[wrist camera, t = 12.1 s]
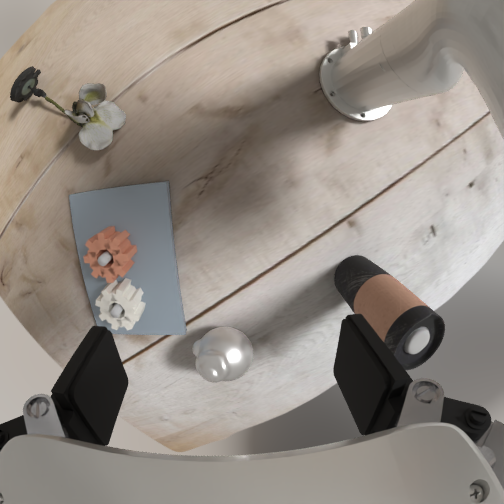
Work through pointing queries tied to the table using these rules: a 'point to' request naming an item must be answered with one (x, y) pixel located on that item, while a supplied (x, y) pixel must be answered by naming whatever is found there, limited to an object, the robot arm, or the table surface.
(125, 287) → the cream gear
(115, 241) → the terracotta gear
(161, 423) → the table surface
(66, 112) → the artificial flower
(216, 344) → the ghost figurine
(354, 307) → the travel mug
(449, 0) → the robot arm
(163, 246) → the gear board
